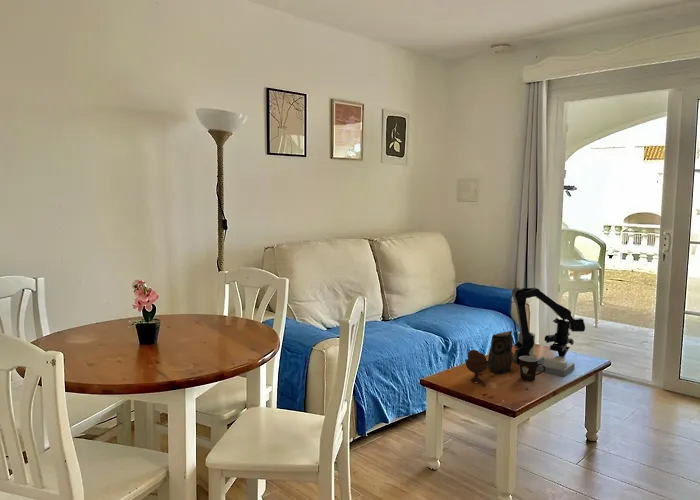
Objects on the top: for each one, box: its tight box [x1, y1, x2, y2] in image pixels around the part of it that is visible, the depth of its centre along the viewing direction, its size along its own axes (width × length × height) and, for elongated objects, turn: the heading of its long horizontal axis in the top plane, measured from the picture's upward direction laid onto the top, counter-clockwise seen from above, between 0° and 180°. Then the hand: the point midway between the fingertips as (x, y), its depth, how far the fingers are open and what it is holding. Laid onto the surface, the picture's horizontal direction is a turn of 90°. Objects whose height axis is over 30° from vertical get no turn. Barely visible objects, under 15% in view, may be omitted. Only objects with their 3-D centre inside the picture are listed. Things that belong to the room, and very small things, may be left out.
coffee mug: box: [518, 356, 545, 382], centre depth 242 cm, size 12×9×10 cm
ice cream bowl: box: [464, 349, 489, 383], centre depth 240 cm, size 11×11×15 cm
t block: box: [543, 355, 568, 370], centre depth 261 cm, size 10×10×4 cm
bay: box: [536, 356, 576, 378], centre depth 257 cm, size 15×16×3 cm
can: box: [517, 331, 536, 357], centre depth 281 cm, size 9×9×12 cm
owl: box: [487, 330, 514, 375], centre depth 254 cm, size 13×13×20 cm
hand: (561, 360), depth 267 cm, fingers closed
